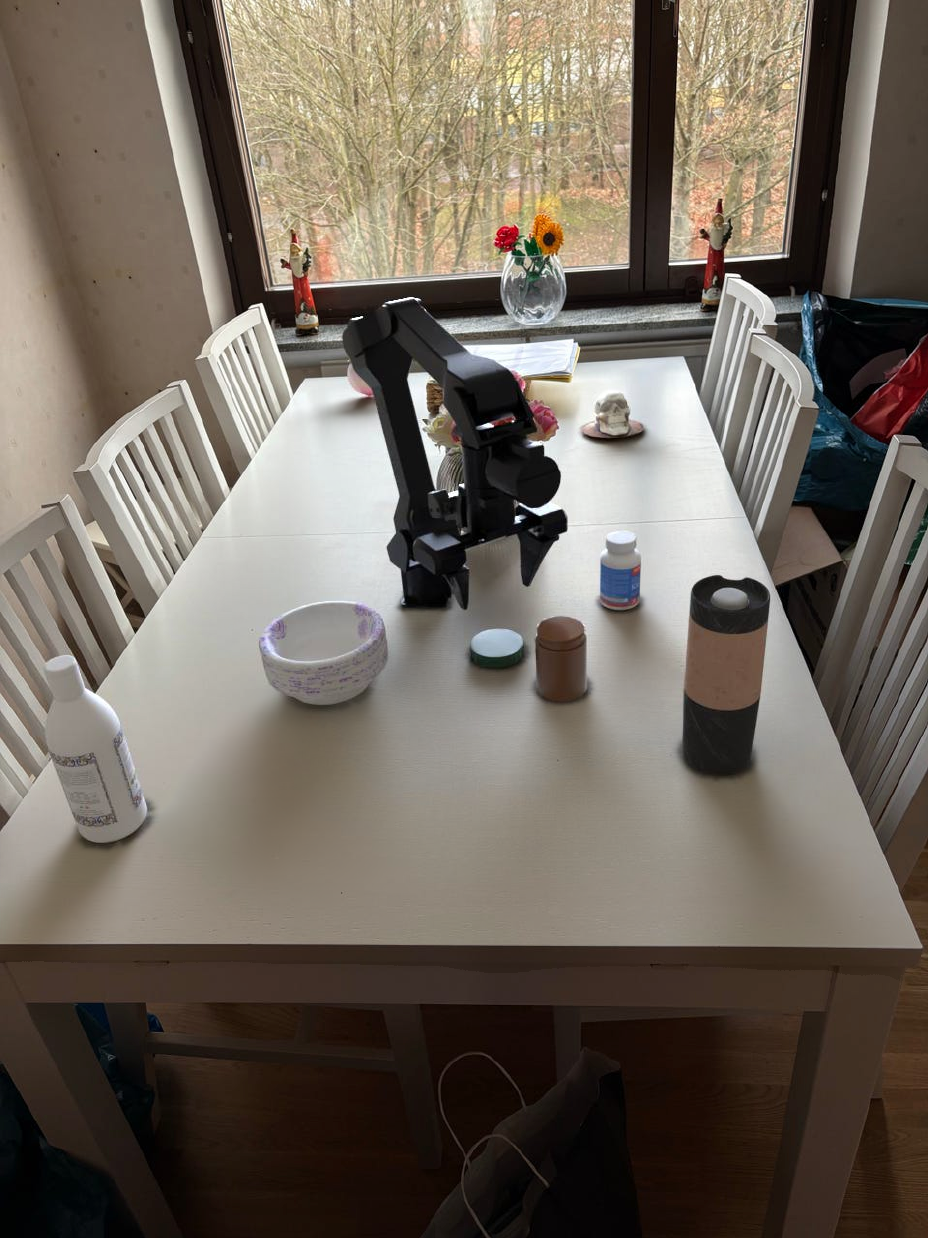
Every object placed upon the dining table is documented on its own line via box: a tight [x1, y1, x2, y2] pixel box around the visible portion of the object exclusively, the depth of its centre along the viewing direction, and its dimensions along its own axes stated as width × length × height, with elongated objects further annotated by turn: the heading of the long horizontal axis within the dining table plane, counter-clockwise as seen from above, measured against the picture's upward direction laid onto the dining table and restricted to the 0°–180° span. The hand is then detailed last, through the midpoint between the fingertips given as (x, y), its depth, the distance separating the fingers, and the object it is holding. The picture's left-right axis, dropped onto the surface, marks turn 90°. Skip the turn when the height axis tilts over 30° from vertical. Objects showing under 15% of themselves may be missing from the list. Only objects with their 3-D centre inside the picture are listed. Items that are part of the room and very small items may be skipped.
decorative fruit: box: [346, 358, 373, 397], centre depth 213 cm, size 9×8×10 cm
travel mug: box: [682, 574, 771, 776], centre depth 97 cm, size 8×8×20 cm
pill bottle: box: [599, 530, 642, 611], centre depth 129 cm, size 6×5×10 cm
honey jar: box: [534, 615, 588, 703], centre depth 113 cm, size 6×6×8 cm
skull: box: [581, 389, 645, 439], centre depth 186 cm, size 12×10×10 cm
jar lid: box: [469, 628, 525, 669], centre depth 122 cm, size 7×7×2 cm
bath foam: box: [43, 654, 148, 844], centre depth 95 cm, size 7×7×20 cm
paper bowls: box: [258, 600, 389, 706], centre depth 117 cm, size 15×15×8 cm
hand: (495, 596), depth 118 cm, fingers open, 9 cm apart
